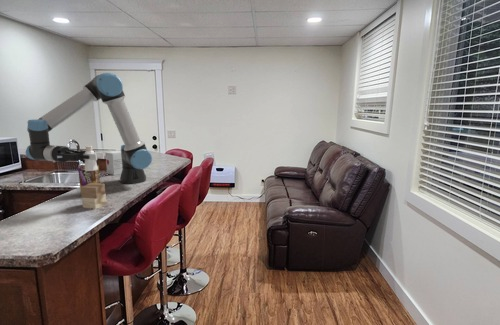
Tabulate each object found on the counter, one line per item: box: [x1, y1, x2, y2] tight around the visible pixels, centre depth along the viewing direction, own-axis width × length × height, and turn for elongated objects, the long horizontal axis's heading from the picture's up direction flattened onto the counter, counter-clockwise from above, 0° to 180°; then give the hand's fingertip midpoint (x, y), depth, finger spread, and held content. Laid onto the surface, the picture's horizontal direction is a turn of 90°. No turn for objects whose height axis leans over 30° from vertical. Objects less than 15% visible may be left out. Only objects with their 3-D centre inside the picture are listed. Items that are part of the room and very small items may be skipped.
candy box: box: [77, 165, 101, 196], centre depth 151 cm, size 9×4×15 cm, turn 89°
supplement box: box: [104, 150, 122, 176], centre depth 197 cm, size 9×9×15 cm
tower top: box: [80, 182, 106, 199], centre depth 134 cm, size 7×7×5 cm
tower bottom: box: [81, 193, 107, 210], centre depth 135 cm, size 7×7×5 cm
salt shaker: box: [84, 145, 98, 171], centre depth 131 cm, size 5×5×11 cm
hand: (100, 156), depth 129 cm, fingers closed on salt shaker, 4 cm apart
